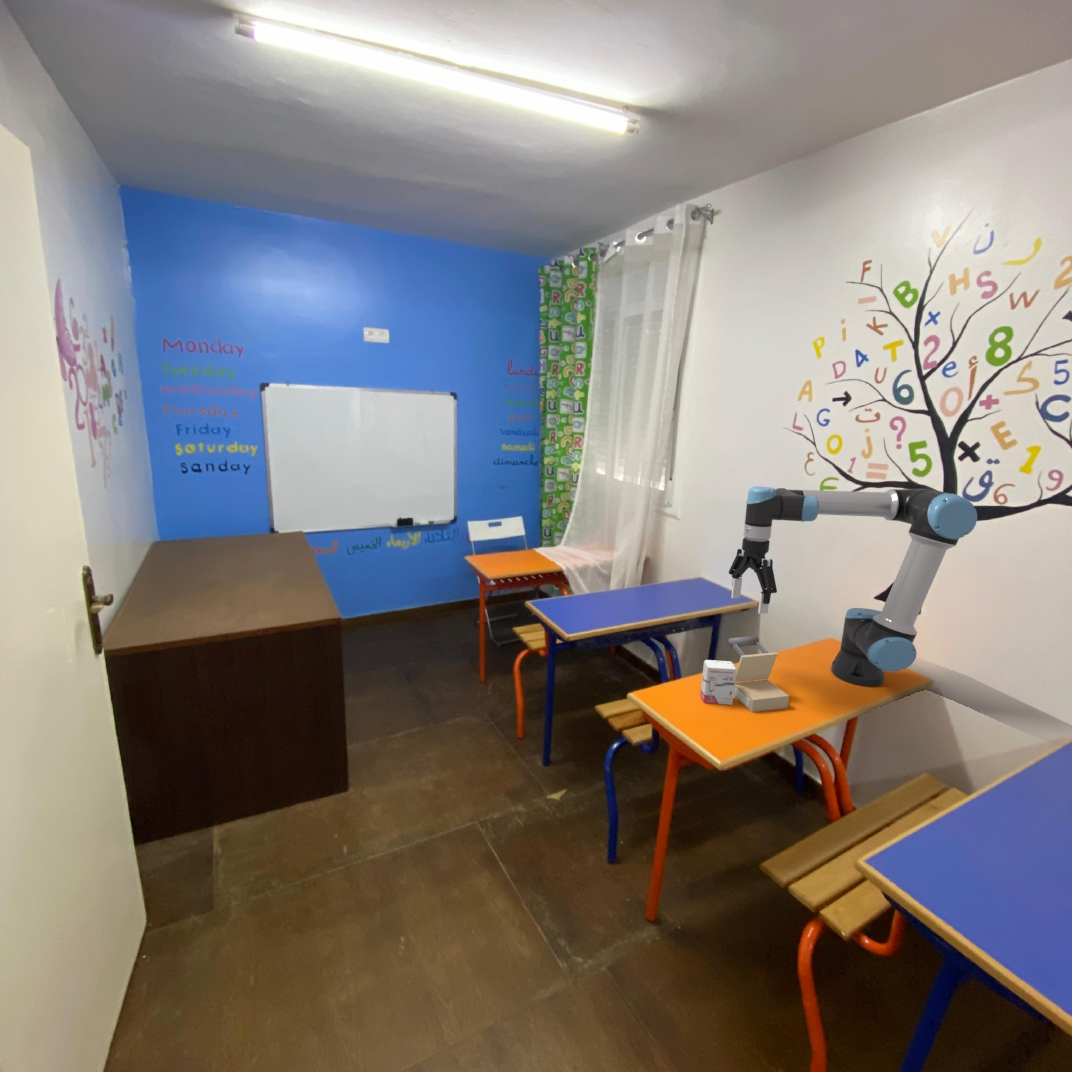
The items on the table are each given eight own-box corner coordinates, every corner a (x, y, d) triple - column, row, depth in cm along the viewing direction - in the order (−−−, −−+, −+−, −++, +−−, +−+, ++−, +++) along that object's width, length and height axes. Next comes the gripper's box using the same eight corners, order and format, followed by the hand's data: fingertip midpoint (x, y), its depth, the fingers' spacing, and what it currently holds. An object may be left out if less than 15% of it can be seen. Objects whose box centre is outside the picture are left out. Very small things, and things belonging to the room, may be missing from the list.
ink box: (703, 703, 159) (706, 666, 156) (699, 695, 164) (703, 659, 161) (732, 705, 158) (737, 668, 156) (728, 696, 163) (732, 661, 160)
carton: (765, 690, 167) (767, 679, 166) (787, 707, 158) (789, 695, 157) (731, 694, 164) (732, 683, 163) (751, 712, 155) (752, 700, 154)
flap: (768, 678, 166) (750, 657, 174) (777, 654, 161) (759, 633, 169) (733, 682, 163) (717, 660, 171) (742, 657, 158) (725, 636, 166)
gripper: (721, 530, 171) (715, 592, 176) (772, 549, 148) (764, 621, 152) (742, 529, 173) (735, 591, 178) (796, 548, 149) (786, 619, 154)
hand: (748, 605), depth 165 cm, fingers open, 13 cm apart
